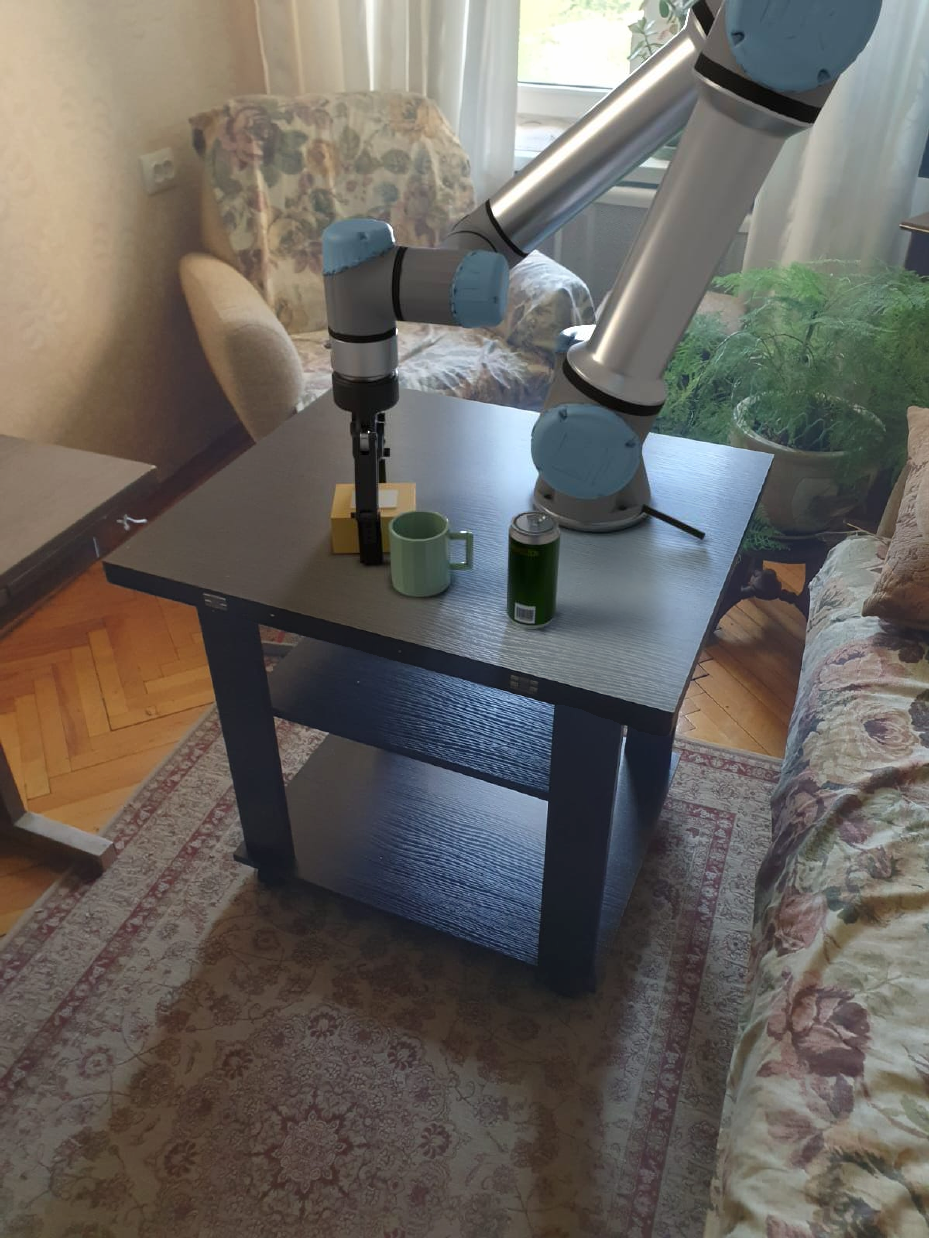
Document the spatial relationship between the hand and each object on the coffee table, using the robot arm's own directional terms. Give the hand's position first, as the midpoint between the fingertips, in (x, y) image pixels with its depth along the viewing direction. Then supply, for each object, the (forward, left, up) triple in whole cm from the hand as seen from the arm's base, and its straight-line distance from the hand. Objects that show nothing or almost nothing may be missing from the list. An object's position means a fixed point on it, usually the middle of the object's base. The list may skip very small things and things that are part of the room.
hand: (374, 532), depth 117 cm
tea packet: (0, 0, 0) cm, 0 cm away
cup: (-10, +8, 0) cm, 13 cm away
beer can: (-23, +11, -1) cm, 26 cm away
